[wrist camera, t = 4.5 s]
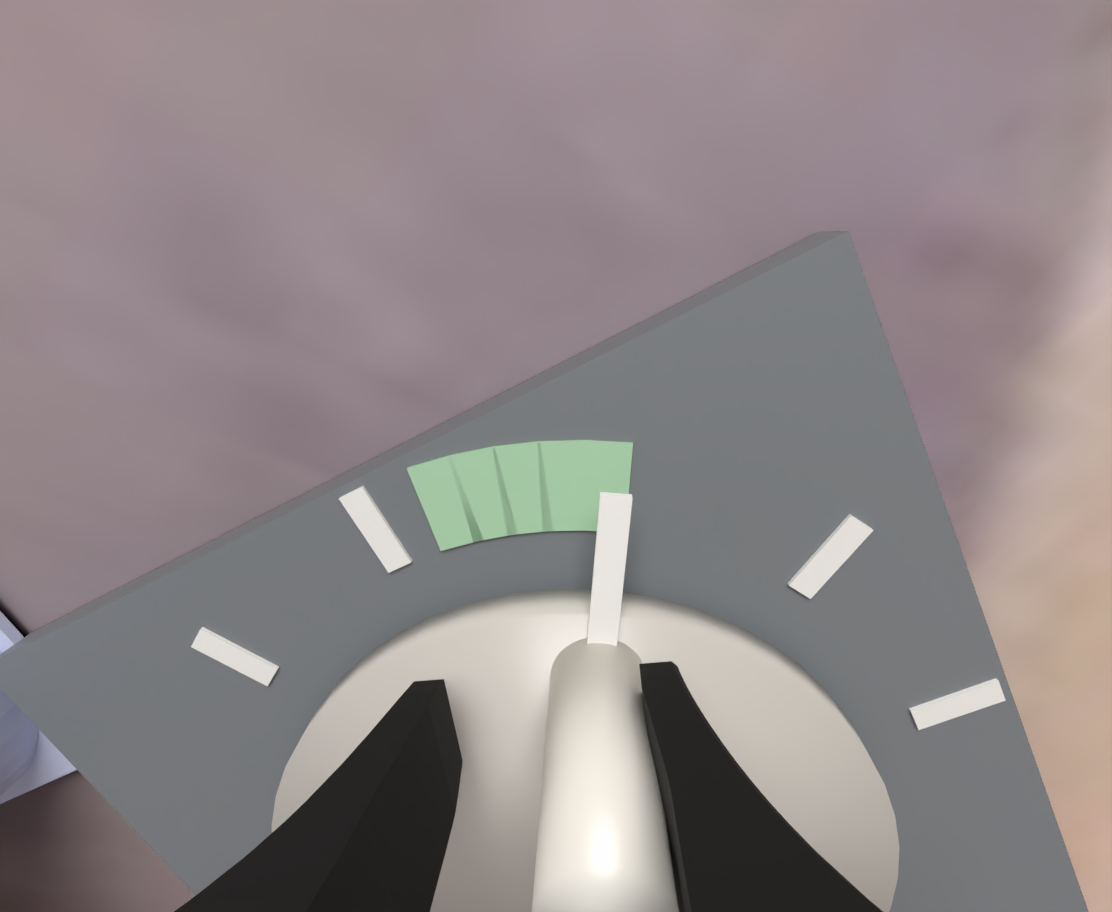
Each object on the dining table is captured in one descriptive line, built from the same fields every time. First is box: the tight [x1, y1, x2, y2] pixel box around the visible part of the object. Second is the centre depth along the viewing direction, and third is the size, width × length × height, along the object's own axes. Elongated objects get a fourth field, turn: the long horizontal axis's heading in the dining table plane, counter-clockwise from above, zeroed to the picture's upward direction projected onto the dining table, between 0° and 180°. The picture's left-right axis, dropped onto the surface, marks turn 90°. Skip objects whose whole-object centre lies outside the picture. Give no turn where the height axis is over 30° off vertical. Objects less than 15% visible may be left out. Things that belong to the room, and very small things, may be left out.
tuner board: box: [0, 231, 1088, 912], centre depth 17 cm, size 22×22×2 cm
